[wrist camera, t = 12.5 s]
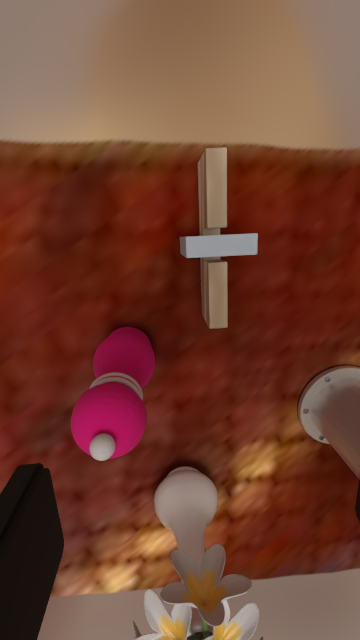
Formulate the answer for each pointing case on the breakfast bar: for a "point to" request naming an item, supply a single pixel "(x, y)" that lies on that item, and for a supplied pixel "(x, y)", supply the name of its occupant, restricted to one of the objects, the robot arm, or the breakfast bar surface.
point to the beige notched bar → (213, 233)
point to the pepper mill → (115, 396)
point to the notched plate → (218, 245)
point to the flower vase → (195, 569)
